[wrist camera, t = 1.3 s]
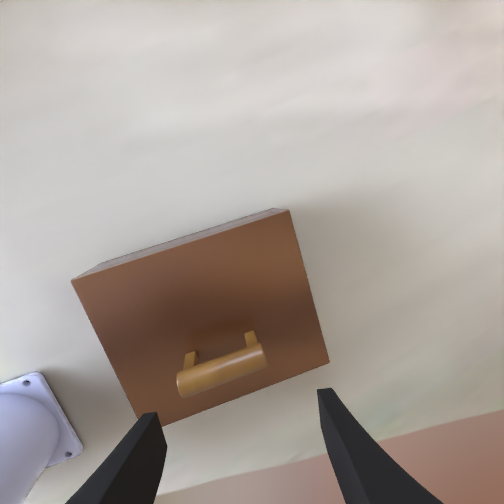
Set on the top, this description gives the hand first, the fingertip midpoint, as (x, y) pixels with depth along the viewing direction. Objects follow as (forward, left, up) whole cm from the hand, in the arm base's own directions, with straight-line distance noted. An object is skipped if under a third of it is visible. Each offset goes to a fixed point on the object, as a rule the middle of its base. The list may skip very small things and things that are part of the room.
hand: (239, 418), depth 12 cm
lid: (-1, +2, -7) cm, 7 cm away
